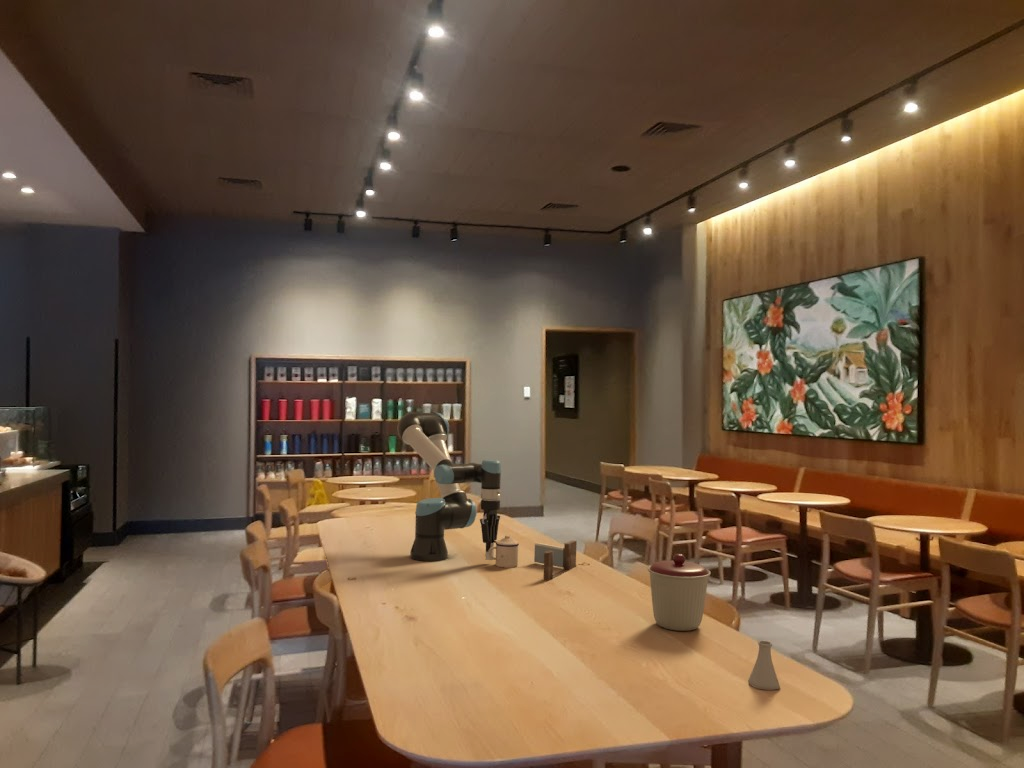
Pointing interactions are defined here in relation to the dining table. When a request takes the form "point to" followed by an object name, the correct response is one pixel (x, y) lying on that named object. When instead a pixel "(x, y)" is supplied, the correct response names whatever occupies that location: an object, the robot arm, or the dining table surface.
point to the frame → (568, 561)
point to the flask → (764, 669)
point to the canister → (678, 593)
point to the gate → (557, 551)
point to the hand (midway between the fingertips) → (489, 559)
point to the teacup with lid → (506, 552)
